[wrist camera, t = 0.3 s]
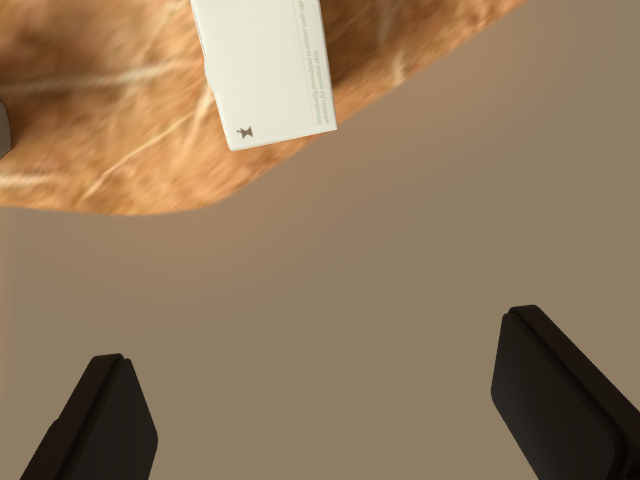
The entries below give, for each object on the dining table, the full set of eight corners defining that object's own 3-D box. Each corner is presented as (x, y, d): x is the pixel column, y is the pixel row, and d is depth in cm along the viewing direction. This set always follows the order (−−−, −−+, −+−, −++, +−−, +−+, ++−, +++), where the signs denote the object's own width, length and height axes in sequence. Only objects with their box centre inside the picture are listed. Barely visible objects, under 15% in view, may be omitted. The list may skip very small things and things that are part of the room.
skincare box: (318, 98, 37) (344, 137, 23) (245, 111, 37) (227, 159, 23) (301, -10, 33) (320, -40, 19) (220, 4, 33) (180, -16, 19)
